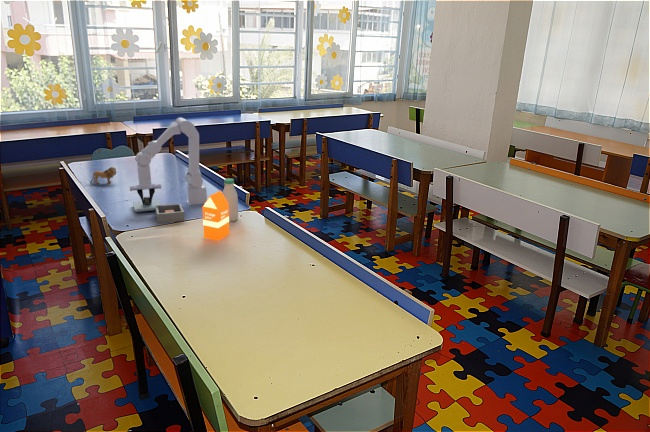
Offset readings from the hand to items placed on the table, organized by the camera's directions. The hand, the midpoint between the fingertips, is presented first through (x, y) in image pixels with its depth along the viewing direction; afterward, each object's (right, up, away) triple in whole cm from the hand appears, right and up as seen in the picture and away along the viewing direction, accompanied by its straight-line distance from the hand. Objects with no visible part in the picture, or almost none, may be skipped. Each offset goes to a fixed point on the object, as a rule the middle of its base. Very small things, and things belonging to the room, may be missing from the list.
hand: (147, 203), depth 248 cm
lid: (0, -1, 0) cm, 2 cm away
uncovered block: (+14, -7, -8) cm, 18 cm away
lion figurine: (-38, +13, +39) cm, 56 cm away
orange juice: (+40, -15, -25) cm, 50 cm away
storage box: (+14, -7, -8) cm, 18 cm away
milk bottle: (+42, -8, -6) cm, 43 cm away
